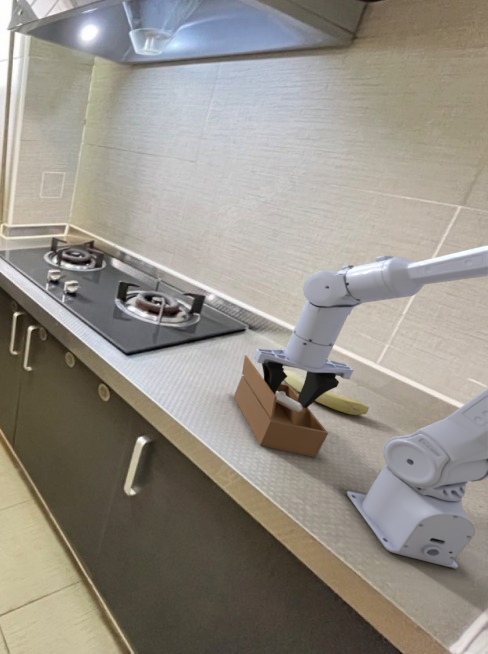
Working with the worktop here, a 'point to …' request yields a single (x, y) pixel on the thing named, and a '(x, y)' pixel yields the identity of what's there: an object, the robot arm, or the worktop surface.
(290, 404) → the small white plastic part
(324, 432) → the carton
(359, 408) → the fruit
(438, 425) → the robot arm
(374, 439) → the worktop surface
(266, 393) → the brown box flap
